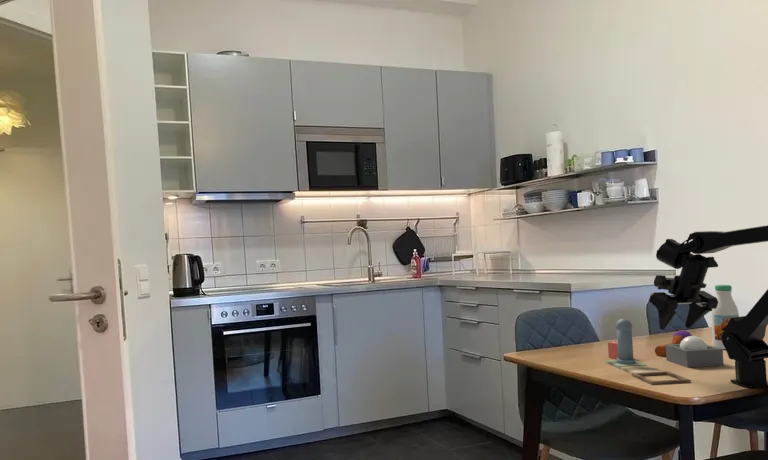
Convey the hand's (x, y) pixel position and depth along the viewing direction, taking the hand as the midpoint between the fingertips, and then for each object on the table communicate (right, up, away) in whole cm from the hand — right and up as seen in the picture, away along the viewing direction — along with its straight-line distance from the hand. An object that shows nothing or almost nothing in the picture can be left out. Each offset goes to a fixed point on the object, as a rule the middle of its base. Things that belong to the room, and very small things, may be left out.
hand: (674, 328), depth 155 cm
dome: (+9, -11, +7) cm, 16 cm away
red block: (-7, -12, +18) cm, 23 cm away
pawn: (-10, -11, +8) cm, 17 cm away
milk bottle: (+30, -11, +27) cm, 42 cm away
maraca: (+13, -12, +25) cm, 30 cm away
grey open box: (+9, -11, +7) cm, 16 cm away
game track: (-9, -12, -1) cm, 15 cm away
